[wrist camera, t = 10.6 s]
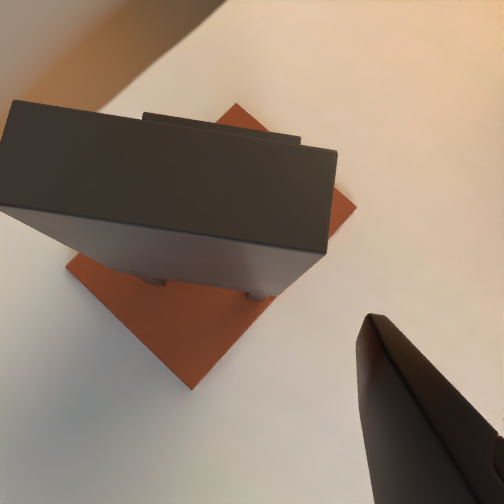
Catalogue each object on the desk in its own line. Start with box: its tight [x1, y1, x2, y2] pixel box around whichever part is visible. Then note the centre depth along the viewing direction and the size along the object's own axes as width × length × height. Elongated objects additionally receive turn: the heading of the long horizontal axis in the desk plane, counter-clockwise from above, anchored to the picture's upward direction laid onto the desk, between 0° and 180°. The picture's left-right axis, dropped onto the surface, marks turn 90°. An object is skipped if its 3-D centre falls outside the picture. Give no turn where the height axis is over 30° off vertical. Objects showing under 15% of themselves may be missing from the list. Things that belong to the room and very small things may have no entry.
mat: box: [65, 103, 357, 390], centre depth 20 cm, size 8×12×1 cm
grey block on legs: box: [0, 100, 338, 301], centre depth 14 cm, size 6×6×13 cm
